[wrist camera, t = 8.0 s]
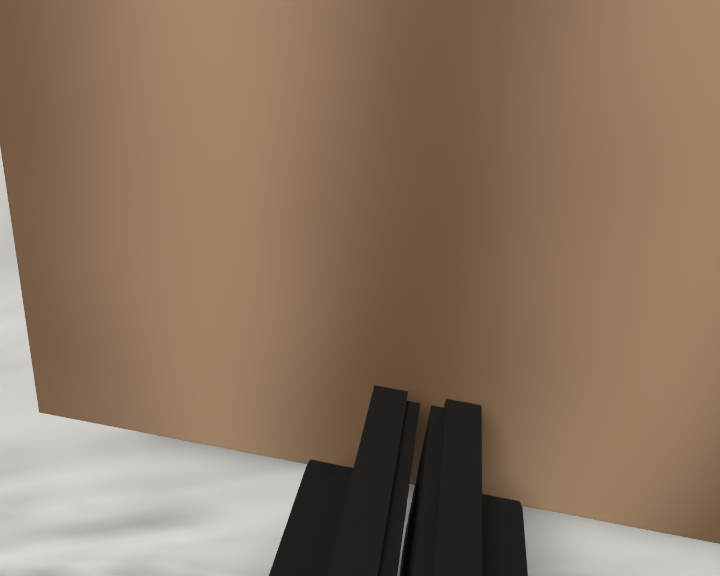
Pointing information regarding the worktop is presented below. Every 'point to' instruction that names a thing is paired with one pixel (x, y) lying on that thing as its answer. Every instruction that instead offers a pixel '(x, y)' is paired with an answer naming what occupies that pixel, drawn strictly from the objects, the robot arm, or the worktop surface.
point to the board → (381, 230)
